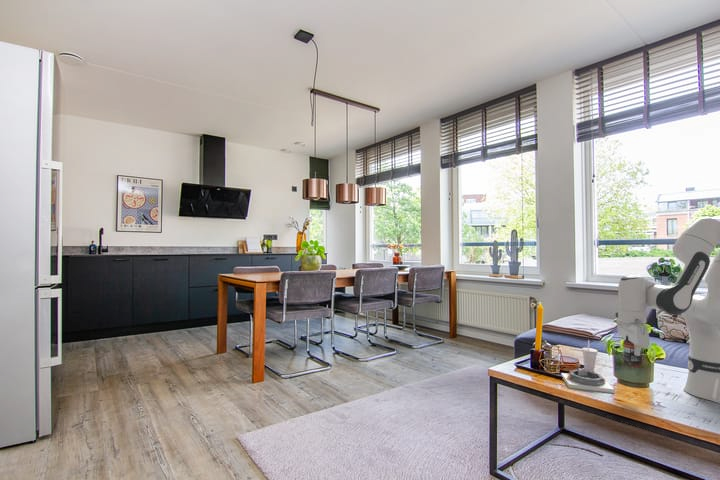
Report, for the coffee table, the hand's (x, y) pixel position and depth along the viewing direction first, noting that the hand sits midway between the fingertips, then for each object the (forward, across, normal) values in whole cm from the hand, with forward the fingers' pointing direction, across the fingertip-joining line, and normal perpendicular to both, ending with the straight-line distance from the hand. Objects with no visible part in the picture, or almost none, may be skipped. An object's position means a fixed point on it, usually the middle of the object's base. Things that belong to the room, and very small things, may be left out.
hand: (632, 352), depth 145 cm
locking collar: (+15, +9, +14) cm, 22 cm away
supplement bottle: (+5, 0, 0) cm, 5 cm away
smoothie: (+17, +30, +7) cm, 35 cm away
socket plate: (+17, +9, +14) cm, 24 cm away
